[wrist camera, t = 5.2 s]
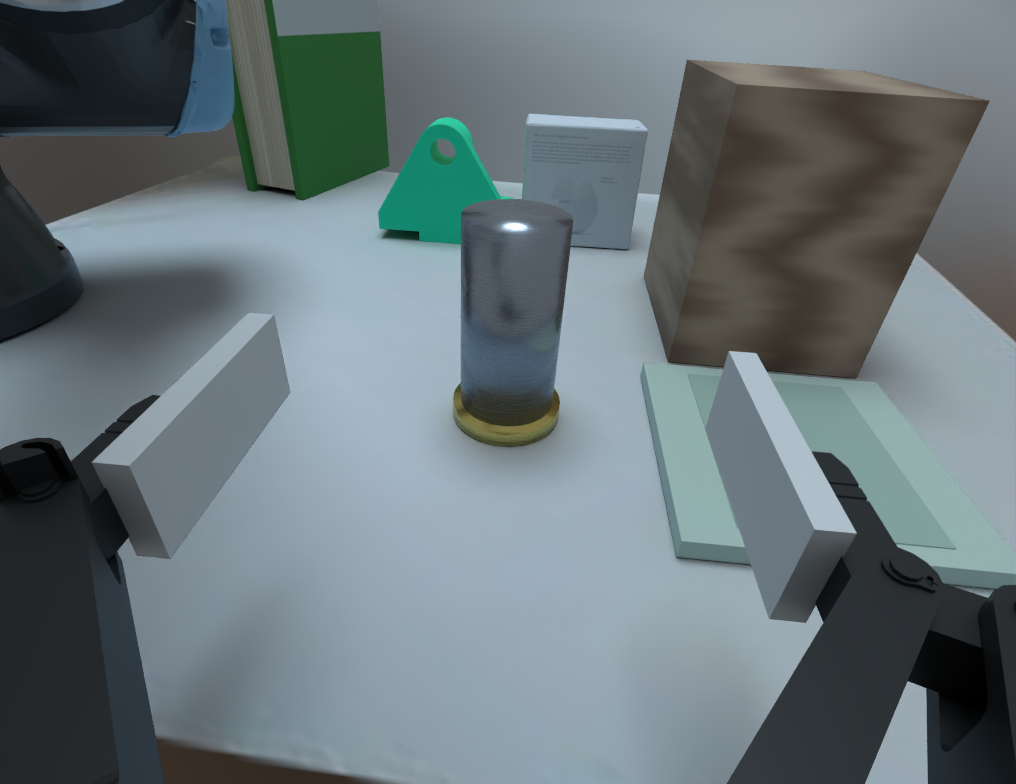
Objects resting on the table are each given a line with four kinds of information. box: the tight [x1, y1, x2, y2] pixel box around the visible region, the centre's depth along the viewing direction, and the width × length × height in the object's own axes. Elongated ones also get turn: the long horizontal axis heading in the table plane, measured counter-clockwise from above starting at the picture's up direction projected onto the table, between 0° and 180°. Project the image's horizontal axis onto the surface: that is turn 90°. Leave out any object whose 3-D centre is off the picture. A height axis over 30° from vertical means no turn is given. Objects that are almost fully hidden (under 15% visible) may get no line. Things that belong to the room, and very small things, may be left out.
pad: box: [641, 362, 1016, 589], centre depth 29 cm, size 14×14×1 cm
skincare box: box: [522, 114, 648, 249], centre depth 53 cm, size 10×6×10 cm, turn 86°
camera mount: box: [378, 118, 513, 244], centre depth 53 cm, size 12×8×10 cm, turn 86°
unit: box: [644, 60, 989, 378], centre depth 38 cm, size 13×14×16 cm
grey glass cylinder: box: [453, 199, 573, 446], centre depth 28 cm, size 6×6×11 cm
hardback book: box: [226, 0, 389, 200], centre depth 62 cm, size 18×7×24 cm, turn 159°
